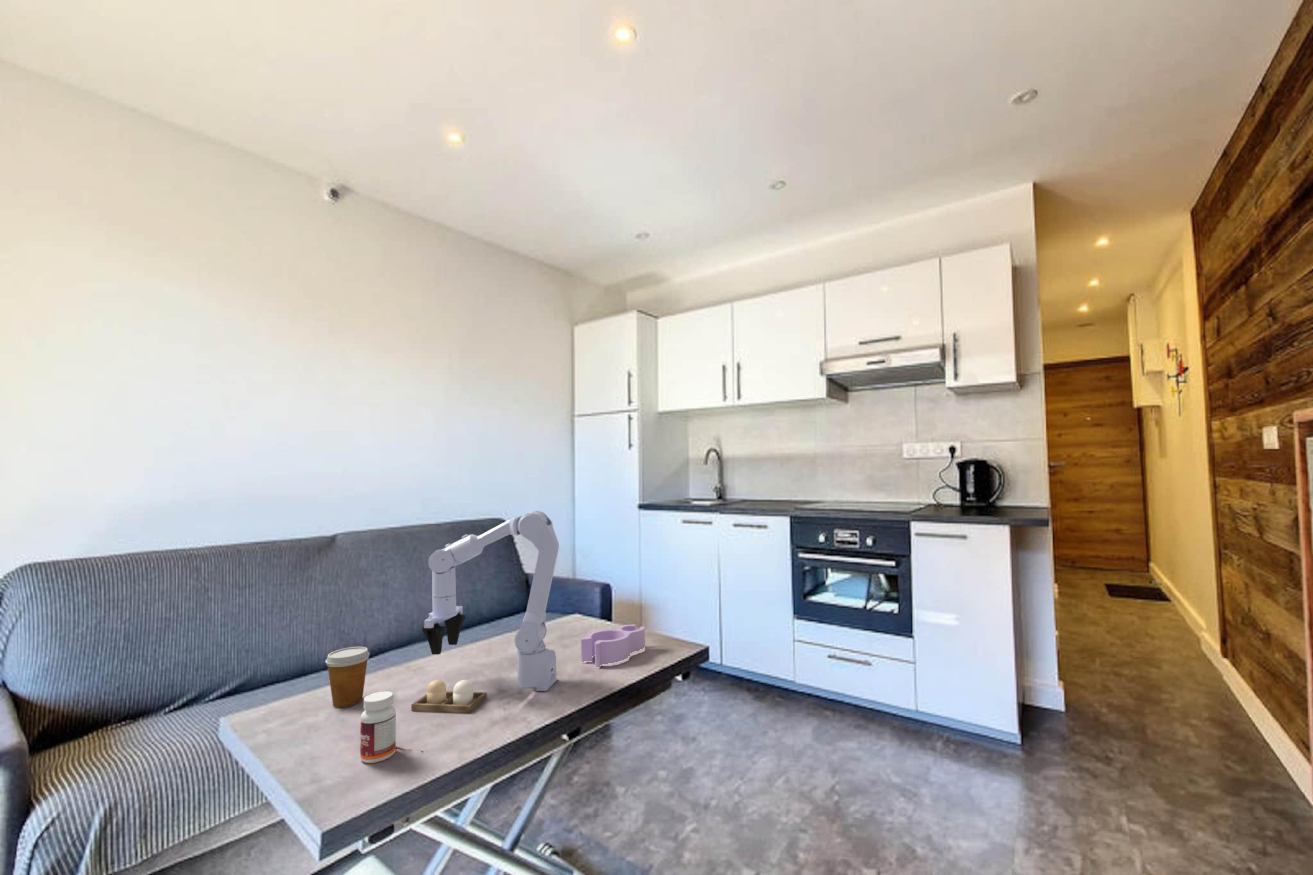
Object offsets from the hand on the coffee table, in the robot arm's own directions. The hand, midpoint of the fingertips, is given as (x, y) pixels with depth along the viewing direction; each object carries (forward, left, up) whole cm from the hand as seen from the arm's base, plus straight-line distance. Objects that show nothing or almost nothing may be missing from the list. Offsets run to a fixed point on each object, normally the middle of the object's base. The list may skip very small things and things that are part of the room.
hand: (444, 649), depth 140 cm
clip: (-38, -27, -10) cm, 48 cm away
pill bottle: (-6, +33, -10) cm, 35 cm away
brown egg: (-5, +11, -9) cm, 15 cm away
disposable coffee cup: (+20, +10, -10) cm, 25 cm away
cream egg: (-11, +11, -9) cm, 18 cm away
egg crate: (-8, +11, -10) cm, 17 cm away
